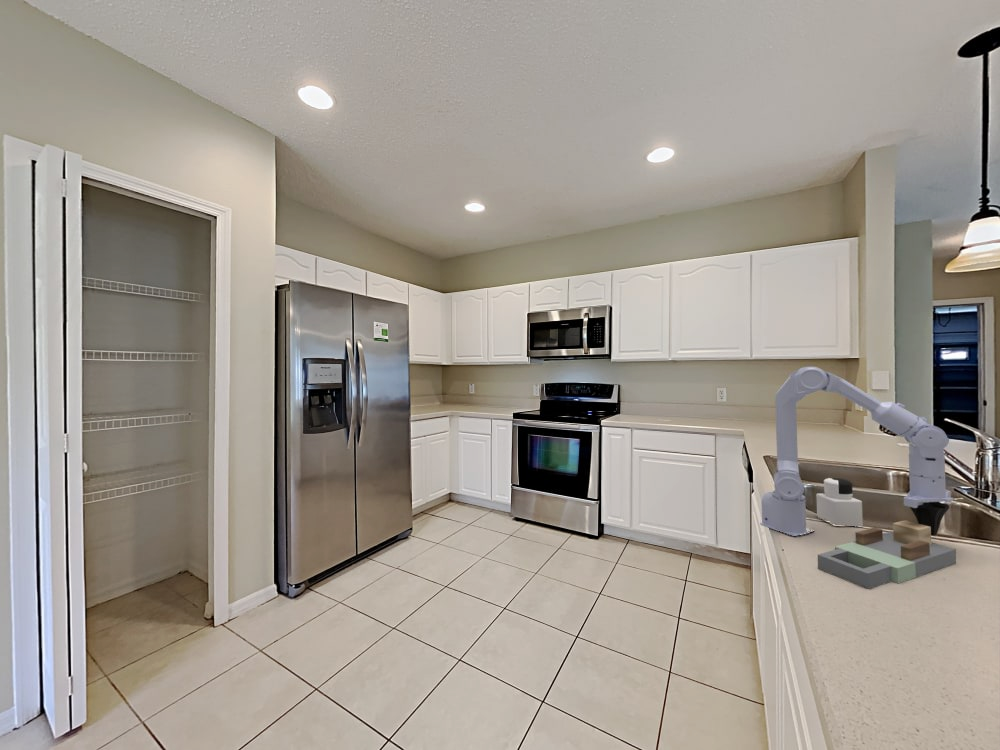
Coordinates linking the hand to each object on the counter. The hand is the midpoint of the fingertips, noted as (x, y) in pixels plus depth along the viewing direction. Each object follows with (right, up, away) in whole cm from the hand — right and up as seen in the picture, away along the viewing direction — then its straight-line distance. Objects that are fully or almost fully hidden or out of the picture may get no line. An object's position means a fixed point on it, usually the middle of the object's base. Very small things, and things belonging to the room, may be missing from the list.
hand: (928, 533), depth 92 cm
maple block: (-6, -1, -2) cm, 7 cm away
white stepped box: (-5, -4, +18) cm, 19 cm away
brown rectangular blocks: (-14, -1, -5) cm, 15 cm away
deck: (-16, -4, -6) cm, 18 cm away
